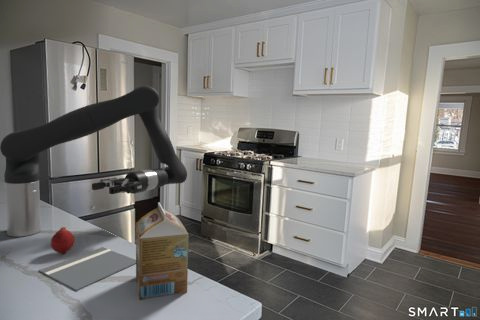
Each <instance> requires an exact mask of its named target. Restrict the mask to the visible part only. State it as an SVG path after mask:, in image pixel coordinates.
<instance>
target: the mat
mask: <svg viewBox="0 0 480 320" xmlns="http://www.w3.org/2000/svg"><path fill="white" fill-rule="evenodd" d="M134 265H135V266H136V258H132V257H129V256H127V255H125V254H121V253H119V252H116V251H115V250H112V249H110V248H105V247H103V246H102V247H99V248H96V249H93V250H90V251H87V252H85V253H82V254H80V255H77V256H74V257H71V258H68V259H66V260H65V259H64V260H63V261H60V262H58V263H54V264H52V265H49V266H47V267H44V268H40V269H39V270H38V271H39V272H40V273H42V274H43V275H46V276H47V277H49V278H51V279H53V280H55V281H56V282H58V283H61V284H62V285H64V286H66V287H67V288H70V289H71V290H74V291H75V292H78V291H80V290H83V289H84V288H86V287H87V288H88V286H89V287H90V286H91V285H93V284H96V283H98V282H99V281H102V280H104V279H106V278H109V277H111V276H113V275H115V274H118V273H119V272H121V271H123V270H126V269H128V268H130V267H132V266H134Z"/></svg>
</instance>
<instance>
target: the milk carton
mask: <svg viewBox="0 0 480 320" xmlns="http://www.w3.org/2000/svg"><path fill="white" fill-rule="evenodd" d="M135 224H136V225H135V234H136V235H135V260H136V264H135V280H136V287H137V295H138V300H139V301H143V300H144V301H145V300H149V299H155V298H160V297H167V296H173V295H179V294H185V293H188V271H189V268H188V267H189V265H188V264H189V237H190V236H189V235H190V234H189V233H188V231H187V229H186V227H185V226H184V224H183V222H182V221H181V219H180V218H178V217H177V215H175V214H173V213H171V212H169V211H168V210H166V209H164V208H163V205H161V202H160V201H159V202H157V207H156V208H154V209H153V210H151V211H149V212H148V213H146V214H145V215H143V216H141V218H140V219H138V220H137V221H136V223H135Z"/></svg>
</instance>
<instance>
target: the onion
mask: <svg viewBox="0 0 480 320" xmlns="http://www.w3.org/2000/svg"><path fill="white" fill-rule="evenodd" d="M66 228H67V227H66V226H61V227H60V229H59V230H58V231H57V232H55V233H54V235H52V237H51V240H50V246H51V248H52V250H53V251H54V252H55V253H58V254H61V255H65V254H66V253H68V252H69V251H70V250H71V249H72V248H73V247H74V246H75V242H76V241H75V240H76V239H75V236H74V234H73V233H72V232H71V231H69V230H67V229H66Z"/></svg>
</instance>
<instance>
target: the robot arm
mask: <svg viewBox="0 0 480 320" xmlns="http://www.w3.org/2000/svg"><path fill="white" fill-rule="evenodd" d="M159 103H160V94H159V93H158V90H156V89H155V88H154V87H152V86H150V85H140V86H136V87H135V88H134V89H132V90H131V91H130V92H128V93H126V94H123V95H121V96H119V97H116V98H113V99H109V100H103V101H99V102H96V103H92V104H88V105H85V106H82V107H79V108H77V109H74V110H71V111H69V112H67V113H65V114H63V115H60V116H58V117H56V118H55V119H53V120H51V121H48V122H47V123H43V124H42V125H39V126H35V127H32V128H29V129H24V130H18V131H14V132H11V133H8V134H7V135H5V136H4V138H2V141H1V142H0V153H1V155H2V156H3V157H4V158H5V171H4V174H3V175H4V192H5V213H6V214H5V215H6V233H7V234H6V235H7V236H9V237H14V238H15V237H16V238H18V237H27V236H31V235H35V234H37V233H39V232H41V230H42V227H41V226H42V224H41V223H42V222H41V221H42V220H41V199H40V198H41V196H40V191H41V190H40V153H42V152H44V151H47V150H48V149H51V148H52V147H55V146H59V145H61V144H64V143H68V142H72V141H75V140H78V139H81V138H84V137H88V136H89V135H92V134H94V133H97V132H99V131H102V130H104V129H106V128H108V127H111V126H112V125H114V124H116V123H118V122H121V121H122V120H124V119H127V118H129V117H132V116H137V115H138V116H139V117H140V119H141V121H142V123H143V125H144V127H145V129H146V132H147V134H148V137H149V139H150V143H151V145H152V147H153V150H154V152H155V155H156V158H157V160H158V161H159V163H161V164H163V165H166V166H165V167H160V168H153V169H143V170H137V171H130V172H128V173H127V174H126V175H125V177H119V178H117V177H110V178H104V179H100V181H99V182H98V181H97V182H93V183H92V184H91V190H92V191H97V190H98V191H99V190H102V189H104V190H105V189H108V194H110V195H115V194H119V193H122V194H124V193H126V194H127V195H129V194H133V195H135V194H139V193H142V192H143V193H144V192H148V191H152V190H154V189H157V188H162V187H164V186H165V185H174V184H176V185H177V184H183V183H185V182H186V181H187V178H188V170H187V168H186V166H185V165H184V163H183V162H182V161H181V159H180V158H179V157H178V155H177V153H176V151H175V148H174V146H173V144H172V143H173V142H172V141H171V138H170V137H169V134H168V133H167V130H166V129H165V127H164V126H163V124H162V121H161V119H160V116H159V113H158V109H157V106H158V105H159Z"/></svg>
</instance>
